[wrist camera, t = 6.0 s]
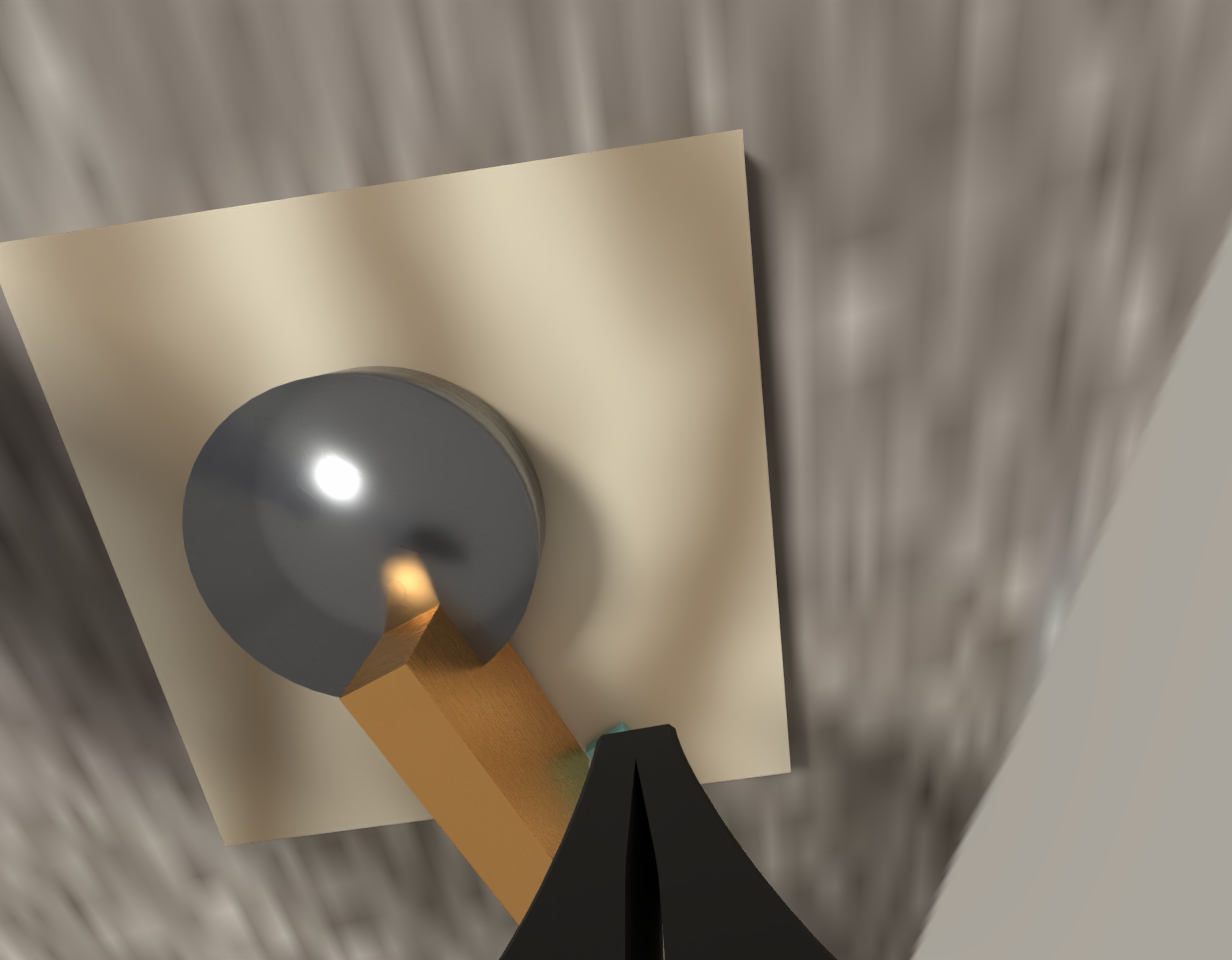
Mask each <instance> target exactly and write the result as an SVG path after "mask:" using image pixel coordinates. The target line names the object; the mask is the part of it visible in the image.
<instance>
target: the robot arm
mask: <svg viewBox="0 0 1232 960" xmlns="http://www.w3.org/2000/svg"><path fill="white" fill-rule="evenodd" d="M662 924H663V931H662ZM663 937H664V951H665V960H837V959H836V958H835V957H834V956H833V955H832V954H831V953H830V952H829V951H828V950H827V949H826V948H825V947H824V946H823V945H822V944H821V943H820V942H819V941H818V940H817V939H816V938H815V937H814V936H813V934H812V933H811V932H810V931H809V930H808V929H807V928H806V927H805V925H804V924H803V923H802V922H801V921H800V920H799V919H798V918H797V916H796V915H795V914H794V913H793V912H792V911H791V910H790V908H789V907H788V906H787V905H786V904H785V903H784V901H783V900H782V899H781V898H780V897H779V895H778V894H777V893H776V892H775V891H774V889H773V888H772V887H771V886H770V884H769V883H768V882H767V881H766V880H765V878H764V877H763V876H762V874H761V873H760V872H759V871H758V869H757V868H756V867H755V865H754V864H753V863H752V861H751V860H750V859H749V857H748V856H747V855H746V853H745V852H744V850H743V849H742V848H741V846H740V845H739V843H738V842H737V841H736V839H735V838H734V836H733V835H732V834H731V832H730V831H729V829H728V828H727V826H726V825H725V823H724V822H723V820H722V819H721V817H720V816H719V814H718V813H717V811H716V809H715V808H714V806H713V804H712V803H711V801H710V800H709V798H708V796H707V795H706V793H705V792H704V790H703V788H702V786H701V785H700V783H699V781H698V779H697V778H696V776H695V774H694V772H693V770H692V768H691V766H690V764H689V762H688V760H687V758H686V756H685V754H684V751H683V749H682V747H681V744H680V741H679V739H678V736H677V732H676V728H674V727H673V726H671V725H670V724H664V725H658V726H652V727H646V728H640V729H634V730H628V731H622V732H616V733H610V734H604V735H601V737H600V738H599V739H598V740H597V742H596V746H595V751H594V754H593V758H592V761H591V765H590V768H589V771H588V774H587V777H586V780H585V783H584V786H583V788H582V791H581V794H580V797H579V799H578V802H577V804H576V807H575V809H574V812H573V814H572V817H571V819H570V822H569V824H568V827H567V829H566V832H565V834H564V836H563V839H562V841H561V843H560V845H559V848H558V850H557V852H556V854H555V856H554V858H553V860H552V862H551V865H550V867H549V869H548V871H547V873H546V875H545V877H544V879H543V882H542V884H541V886H540V888H539V890H538V892H537V893H536V895H535V897H534V899H533V901H532V903H531V905H530V907H529V909H528V911H527V912H526V914H525V916H524V918H523V920H522V922H521V923H520V925H519V927H518V929H517V930H516V932H515V934H514V936H513V937H512V939H511V941H510V943H509V944H508V946H507V948H506V949H505V951H504V953H503V954H502V956H501V957H500V959H499V960H663Z"/></svg>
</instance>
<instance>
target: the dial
mask: <svg viewBox="0 0 1232 960" xmlns="http://www.w3.org/2000/svg"><path fill="white" fill-rule="evenodd" d="M545 527H546V517H545V505H544V499H543V494H542V490H541V485H540V482H539V479H538V476H537V474H536V471H535V468H534V465H533V463H532V461H531V460H530V458H529V456H528V454H527V452H526V450H525V448H524V446H523V445H522V444H521V442H520V441H519V439H518V438H517V436H516V435H515V434H514V432H513V431H512V429H511V428H510V427H509V426H508V425H507V424H506V423H505V422H504V421H503V420H502V419H501V417H500V416H499V415H498V414H497V413H496V412H494V411H493V410H492V409H491V408H490V407H488V406H487V405H486V404H485V403H484V402H483V401H481V400H480V399H478V398H477V397H475V396H474V395H472V394H471V393H469V392H468V391H466V390H465V389H463V388H461V387H459V386H457V385H455V384H453V383H451V382H449V381H447V380H445V379H442V378H440V377H437V376H434V375H431V374H428V373H425V372H422V371H417V370H412V369H407V368H403V367H391V366H365V367H356V368H350V369H345V370H340V371H335V372H331V373H326V374H322V375H317V376H313V377H308V378H304V379H299V380H295V381H292V382H289V383H286V384H283V385H280V386H277V387H274V388H272V389H270V390H268V391H266V392H264V393H262V394H260V395H258V396H256V397H254V398H252V399H250V400H249V401H248V402H246V403H245V404H243V405H242V406H241V407H239V408H238V409H236V410H235V411H234V412H232V413H231V414H230V415H229V416H228V417H227V418H226V419H225V420H224V421H223V422H222V423H221V424H220V425H219V426H218V427H217V428H216V429H215V431H214V432H213V433H212V435H211V436H210V437H209V439H208V440H207V441H206V443H205V444H204V446H203V448H202V449H201V451H200V453H199V455H198V457H197V459H196V461H195V463H194V465H193V468H192V471H191V473H190V476H189V479H188V482H187V485H186V491H185V497H184V502H183V518H182V530H183V539H184V547H185V552H186V556H187V560H188V564H189V568H190V571H191V574H192V576H193V578H194V581H195V583H196V586H197V588H198V591H199V593H200V594H201V596H202V598H203V600H204V601H205V603H206V605H207V607H208V609H209V610H210V612H211V613H212V614H213V616H214V617H215V619H216V620H217V621H218V623H219V624H220V625H221V627H222V628H223V629H224V630H225V631H226V632H227V634H228V635H229V636H230V637H231V638H232V639H233V640H234V641H235V642H236V643H237V644H238V645H239V646H240V647H241V648H242V649H244V650H245V651H246V652H247V653H248V654H249V655H250V656H252V657H253V658H254V659H255V660H257V661H258V662H260V663H261V664H263V665H264V666H265V667H267V668H268V669H270V670H271V671H273V672H275V673H276V674H278V675H280V676H282V677H284V678H286V679H288V680H289V681H291V682H293V683H296V684H298V685H301V686H303V687H306V688H308V689H311V690H313V691H316V692H320V693H323V694H327V695H330V696H334V697H339V700H340V701H341V702H342V703H343V705H344V706H345V707H346V708H347V710H348V711H349V712H350V713H351V715H352V716H353V717H354V719H355V720H356V721H357V722H358V724H359V725H360V726H361V727H362V729H363V730H364V731H365V732H366V734H367V735H368V736H369V737H370V739H371V740H372V741H373V742H374V744H375V745H376V746H377V747H378V749H379V750H380V751H381V752H382V754H383V755H384V756H385V758H386V759H387V760H388V761H389V763H390V764H391V765H392V766H393V768H394V769H395V770H396V771H397V773H398V774H399V775H400V776H401V778H402V779H403V780H404V781H405V783H406V784H407V785H408V786H409V788H410V789H411V790H412V791H413V793H414V794H415V795H416V797H417V798H418V799H419V800H420V802H421V803H422V804H423V805H424V807H425V808H426V809H427V810H428V812H429V813H430V814H431V815H432V817H433V818H434V819H435V820H436V822H437V823H438V824H439V825H440V827H441V828H442V829H443V830H444V832H445V833H446V834H447V836H448V837H449V838H450V839H451V841H452V842H453V843H454V844H455V846H456V847H457V848H458V849H459V851H460V852H461V853H462V854H463V856H464V857H465V858H466V859H467V861H468V862H469V863H470V864H471V866H472V867H473V868H474V869H475V871H476V872H477V873H478V875H479V876H480V877H481V878H482V880H483V881H484V882H485V883H486V885H487V886H488V887H489V888H490V890H491V891H492V892H493V893H494V895H495V896H496V897H497V898H498V900H499V901H500V902H501V903H502V905H503V906H504V907H505V908H506V910H507V911H508V912H509V914H510V915H511V916H512V917H513V919H514V920H515V921H516V922H517V924H518V925H520V923H521V922H522V920H523V918H524V916H525V914H526V912H527V911H528V909H529V907H530V905H531V903H532V901H533V899H534V897H535V895H536V893H537V892H538V890H539V888H540V886H541V884H542V882H543V879H544V877H545V875H546V873H547V871H548V869H549V867H550V865H551V862H552V860H553V858H554V856H555V854H556V852H557V850H558V848H559V845H560V843H561V841H562V839H563V836H564V834H565V832H566V829H567V827H568V824H569V822H570V819H571V817H572V814H573V812H574V809H575V807H576V804H577V802H578V799H579V797H580V794H581V791H582V788H583V786H584V783H585V780H586V777H587V774H588V771H589V758H588V757H587V756H586V754H585V753H584V751H583V750H582V748H581V747H580V745H579V744H578V742H577V741H576V739H575V738H574V736H573V735H572V734H571V732H570V731H569V729H568V728H567V726H566V725H565V723H564V722H563V720H562V719H561V717H560V716H559V714H558V713H557V712H556V710H555V709H554V707H553V706H552V704H551V703H550V701H549V700H548V698H547V697H546V695H545V694H544V692H543V691H542V690H541V688H540V687H539V685H538V684H537V682H536V681H535V679H534V678H533V676H532V675H531V673H530V672H529V670H528V669H527V668H526V666H525V665H524V663H523V662H522V660H521V659H520V657H519V656H518V654H517V653H516V651H515V650H514V648H513V647H512V646H511V644H510V643H509V641H508V640H509V639H510V638H511V636H512V635H513V633H514V632H515V631H516V629H517V627H518V625H519V623H520V621H521V619H522V617H523V616H524V614H525V611H526V609H527V606H528V603H529V600H530V597H531V594H532V591H533V587H534V583H535V579H536V575H537V571H538V568H539V564H540V560H541V556H542V551H543V546H544V541H545Z"/></svg>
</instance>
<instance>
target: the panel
mask: <svg viewBox="0 0 1232 960" xmlns="http://www.w3.org/2000/svg"><path fill="white" fill-rule="evenodd" d="M0 285H1V287H2V290H3V292H4V295H5V297H6V300H7V302H8V305H9V307H10V310H11V312H12V315H13V317H14V320H15V322H16V325H17V327H18V330H19V332H20V335H21V337H22V340H23V342H24V345H25V347H26V350H27V352H28V355H29V357H30V360H31V362H32V365H33V367H34V370H35V372H36V375H37V377H38V380H39V382H40V385H41V387H42V390H43V392H44V395H45V397H46V400H47V402H48V405H49V407H50V410H51V412H52V415H53V417H54V420H55V422H56V425H57V427H58V430H59V432H60V435H61V437H62V440H63V442H64V445H65V447H66V450H67V452H68V455H69V457H70V460H71V462H72V465H73V467H74V470H75V472H76V475H77V477H78V480H79V482H80V485H81V487H82V490H83V492H84V495H85V497H86V500H87V502H88V505H89V507H90V510H91V512H92V515H93V517H94V520H95V522H96V525H97V527H98V530H99V532H100V535H101V537H102V540H103V542H104V545H105V547H106V550H107V552H108V555H109V557H110V560H111V562H112V565H113V567H114V570H115V572H116V575H117V577H118V580H119V582H120V585H121V587H122V590H123V592H124V595H125V597H126V600H127V602H128V605H129V607H130V610H131V612H132V615H133V617H134V620H135V622H136V625H137V627H138V630H139V632H140V635H141V637H142V640H143V642H144V645H145V647H146V650H147V652H148V655H149V657H150V660H151V662H152V665H153V667H154V670H155V672H156V675H157V677H158V680H159V682H160V685H161V687H162V690H163V692H164V695H165V697H166V700H167V702H168V705H169V707H170V710H171V712H172V715H173V717H174V720H175V722H176V725H177V727H178V730H179V732H180V735H181V737H182V740H183V742H184V745H185V747H186V750H187V752H188V755H189V757H190V760H191V762H192V765H193V767H194V770H195V772H196V775H197V777H198V780H199V782H200V785H201V787H202V790H203V792H204V795H205V797H206V800H207V802H208V805H209V807H210V810H211V812H212V815H213V817H214V820H215V822H216V825H217V827H218V830H219V832H220V835H221V837H222V840H223V842H224V845H225V846H230V845H238V844H245V843H253V842H261V841H268V840H276V839H284V838H291V837H299V836H307V835H314V834H322V833H330V832H337V831H345V830H353V829H360V828H368V827H376V826H383V825H391V824H399V823H406V822H414V821H422V820H429V819H434V818H433V817H432V815H431V814H430V813H429V812H428V810H427V809H426V808H425V807H424V805H423V804H422V803H421V802H420V800H419V799H418V798H417V797H416V795H415V794H414V793H413V791H412V790H411V789H410V788H409V786H408V785H407V784H406V783H405V781H404V780H403V779H402V778H401V776H400V775H399V774H398V773H397V771H396V770H395V769H394V768H393V766H392V765H391V764H390V763H389V761H388V760H387V759H386V758H385V756H384V755H383V754H382V752H381V751H380V750H379V749H378V747H377V746H376V745H375V744H374V742H373V741H372V740H371V739H370V737H369V736H368V735H367V734H366V732H365V731H364V730H363V729H362V727H361V726H360V725H359V724H358V722H357V721H356V720H355V719H354V717H353V716H352V715H351V713H350V712H349V711H348V710H347V708H346V707H345V706H344V705H343V703H342V702H341V701H340V700H339V697H334V696H330V695H327V694H323V693H320V692H316V691H313V690H311V689H308V688H306V687H303V686H301V685H298V684H296V683H293V682H291V681H289V680H288V679H286V678H284V677H282V676H280V675H278V674H276V673H275V672H273V671H271V670H270V669H268V668H267V667H265V666H264V665H263V664H261V663H260V662H258V661H257V660H255V659H254V658H253V657H252V656H250V655H249V654H248V653H247V652H246V651H245V650H244V649H242V648H241V647H240V646H239V645H238V644H237V643H236V642H235V641H234V640H233V639H232V638H231V637H230V636H229V635H228V634H227V632H226V631H225V630H224V629H223V628H222V627H221V625H220V624H219V623H218V621H217V620H216V619H215V617H214V616H213V614H212V613H211V612H210V610H209V609H208V607H207V605H206V603H205V601H204V600H203V598H202V596H201V594H200V593H199V591H198V588H197V586H196V583H195V581H194V578H193V576H192V574H191V571H190V568H189V564H188V560H187V556H186V552H185V547H184V539H183V530H182V518H183V502H184V497H185V491H186V485H187V482H188V479H189V476H190V473H191V471H192V468H193V465H194V463H195V461H196V459H197V457H198V455H199V453H200V451H201V449H202V448H203V446H204V444H205V443H206V441H207V440H208V439H209V437H210V436H211V435H212V433H213V432H214V431H215V429H216V428H217V427H218V426H219V425H220V424H221V423H222V422H223V421H224V420H225V419H226V418H227V417H228V416H229V415H230V414H231V413H232V412H234V411H235V410H236V409H238V408H239V407H241V406H242V405H243V404H245V403H246V402H248V401H249V400H250V399H252V398H254V397H256V396H258V395H260V394H262V393H264V392H266V391H268V390H270V389H272V388H274V387H277V386H280V385H283V384H286V383H289V382H292V381H295V380H299V379H304V378H308V377H313V376H317V375H322V374H326V373H331V372H335V371H340V370H345V369H350V368H356V367H365V366H391V367H403V368H407V369H412V370H417V371H422V372H425V373H428V374H431V375H434V376H437V377H440V378H442V379H445V380H447V381H449V382H451V383H453V384H455V385H457V386H459V387H461V388H463V389H465V390H466V391H468V392H469V393H471V394H472V395H474V396H475V397H477V398H478V399H480V400H481V401H483V402H484V403H485V404H486V405H487V406H488V407H490V408H491V409H492V410H493V411H494V412H496V413H497V414H498V415H499V416H500V417H501V419H502V420H503V421H504V422H505V423H506V424H507V425H508V426H509V427H510V428H511V429H512V431H513V432H514V434H515V435H516V436H517V438H518V439H519V441H520V442H521V444H522V445H523V446H524V448H525V450H526V452H527V454H528V456H529V458H530V460H531V461H532V463H533V465H534V468H535V471H536V474H537V476H538V479H539V482H540V485H541V490H542V494H543V499H544V505H545V517H546V527H545V541H544V546H543V551H542V556H541V560H540V564H539V568H538V571H537V575H536V579H535V583H534V587H533V591H532V594H531V597H530V600H529V603H528V606H527V609H526V611H525V614H524V616H523V617H522V619H521V621H520V623H519V625H518V627H517V629H516V631H515V632H514V633H513V635H512V636H511V638H510V639H509V640H508V641H509V643H510V644H511V646H512V647H513V648H514V650H515V651H516V653H517V654H518V656H519V657H520V659H521V660H522V662H523V663H524V665H525V666H526V668H527V669H528V670H529V672H530V673H531V675H532V676H533V678H534V679H535V681H536V682H537V684H538V685H539V687H540V688H541V690H542V691H543V692H544V694H545V695H546V697H547V698H548V700H549V701H550V703H551V704H552V706H553V707H554V709H555V710H556V712H557V713H558V714H559V716H560V717H561V719H562V720H563V722H564V723H565V725H566V726H567V728H568V729H569V731H570V732H571V734H572V735H573V736H574V738H575V739H576V741H577V742H578V744H579V745H580V747H581V748H582V750H583V751H584V753H585V754H586V746H587V745H589V744H590V743H592V742H593V741H595V740H596V739H598V738H599V737H601V735H603V734H605V733H606V732H608V731H609V730H611V729H612V728H614V727H615V726H617V725H618V724H620V723H621V722H623V723H624V724H625V725H626V726H627V727H628V728H629V729H630V730H634V729H640V728H646V727H652V726H658V725H664V724H670V725H671V726H673V727H674V728H676V732H677V736H678V739H679V741H680V744H681V747H682V749H683V751H684V754H685V756H686V758H687V760H688V762H689V764H690V766H691V768H692V770H693V772H694V774H695V776H696V778H697V779H698V781H699V783H700V784H705V783H713V782H720V781H728V780H736V779H743V778H751V777H759V776H766V775H774V774H782V773H789V772H791V767H790V753H789V740H788V727H787V714H786V700H785V687H784V674H783V661H782V647H781V634H780V621H779V608H778V594H777V581H776V568H775V555H774V541H773V528H772V515H771V502H770V489H769V475H768V462H767V449H766V436H765V422H764V409H763V396H762V383H761V369H760V356H759V343H758V330H757V316H756V303H755V290H754V277H753V263H752V250H751V237H750V224H749V211H748V197H747V184H746V171H745V158H744V144H743V131H742V129H740V130H733V131H727V132H720V133H714V134H707V135H701V136H694V137H687V138H681V139H674V140H668V141H661V142H655V143H648V144H642V145H635V146H629V147H622V148H616V149H609V150H603V151H596V152H589V153H583V154H576V155H570V156H563V157H557V158H550V159H544V160H537V161H531V162H524V163H518V164H511V165H504V166H498V167H491V168H485V169H478V170H472V171H465V172H459V173H452V174H446V175H439V176H433V177H426V178H419V179H413V180H406V181H400V182H393V183H387V184H380V185H374V186H367V187H361V188H354V189H348V190H341V191H334V192H328V193H321V194H315V195H308V196H302V197H295V198H289V199H282V200H276V201H269V202H263V203H256V204H250V205H243V206H236V207H230V208H223V209H217V210H210V211H204V212H197V213H191V214H184V215H178V216H171V217H165V218H158V219H151V220H145V221H138V222H132V223H125V224H119V225H112V226H106V227H99V228H93V229H86V230H80V231H73V232H66V233H60V234H53V235H47V236H40V237H34V238H27V239H21V240H14V241H8V242H1V243H0ZM586 756H587V757H588V758H589V768H590V765H591V761H592V759H591V758H590V757H589V756H588V755H587V754H586Z"/></svg>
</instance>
